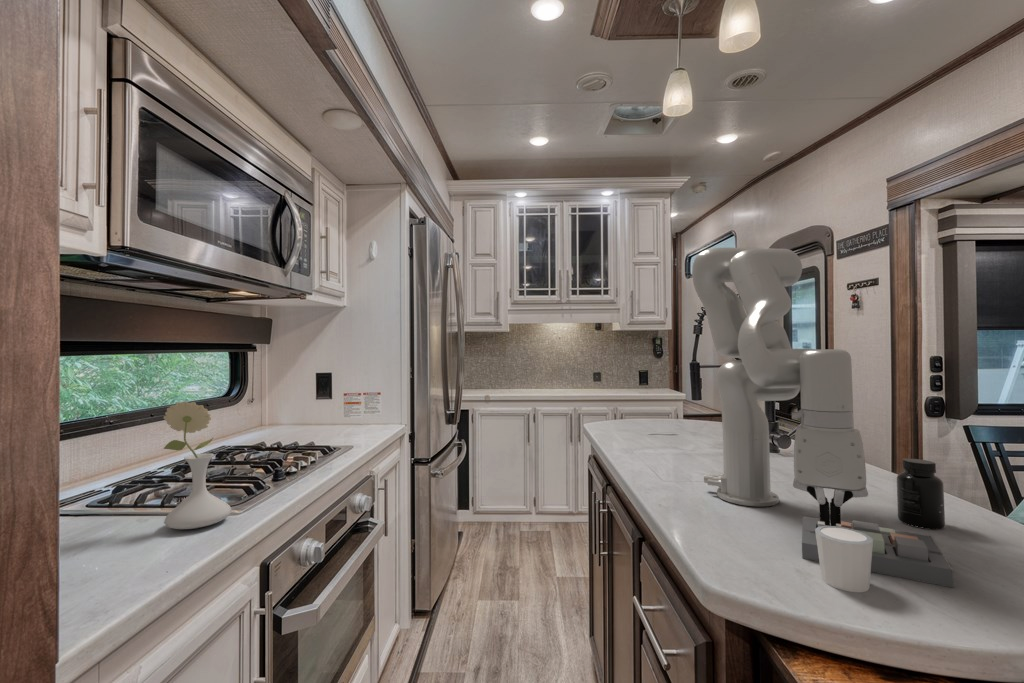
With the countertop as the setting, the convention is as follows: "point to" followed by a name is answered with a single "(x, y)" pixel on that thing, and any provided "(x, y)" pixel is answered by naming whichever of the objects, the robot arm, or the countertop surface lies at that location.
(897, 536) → the key terracotta
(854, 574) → the white oval cup
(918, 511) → the supplement bottle
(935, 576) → the keypad
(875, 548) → the key sage
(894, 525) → the countertop surface
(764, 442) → the robot arm
